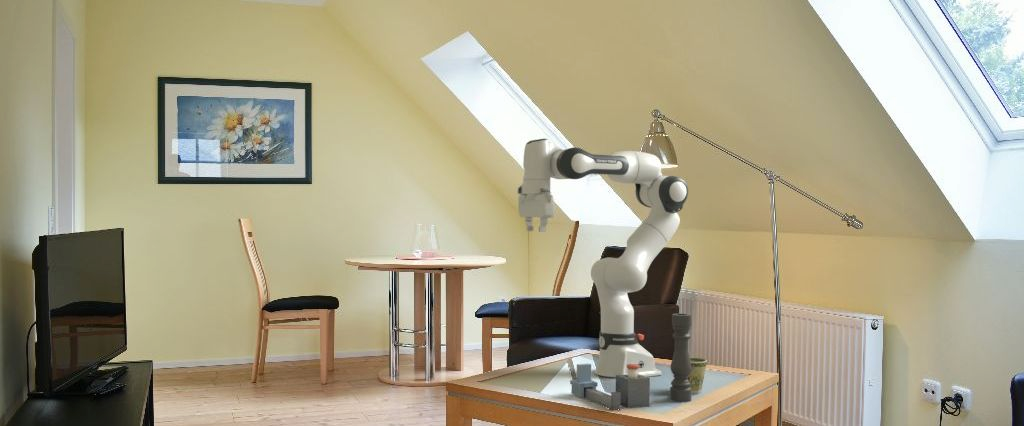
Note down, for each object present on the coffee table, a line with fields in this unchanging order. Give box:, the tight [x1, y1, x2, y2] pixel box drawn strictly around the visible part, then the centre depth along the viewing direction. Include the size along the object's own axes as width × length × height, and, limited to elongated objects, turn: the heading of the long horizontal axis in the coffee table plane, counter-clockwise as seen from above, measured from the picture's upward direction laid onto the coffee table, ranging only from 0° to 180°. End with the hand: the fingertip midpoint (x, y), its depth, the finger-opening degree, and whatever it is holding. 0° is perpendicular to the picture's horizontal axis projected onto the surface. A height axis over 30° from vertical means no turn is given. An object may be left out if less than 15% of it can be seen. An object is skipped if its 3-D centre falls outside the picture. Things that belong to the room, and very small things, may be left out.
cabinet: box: [615, 374, 651, 409], centre depth 253 cm, size 7×7×8 cm
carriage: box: [569, 363, 598, 398], centre depth 263 cm, size 6×6×9 cm
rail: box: [572, 376, 621, 411], centre depth 256 cm, size 2×24×5 cm, turn 23°
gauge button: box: [627, 364, 639, 378], centre depth 253 cm, size 3×3×6 cm
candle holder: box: [669, 312, 693, 403], centre depth 260 cm, size 6×6×25 cm
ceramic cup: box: [688, 356, 708, 395], centre depth 273 cm, size 13×10×10 cm
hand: (535, 231), depth 287 cm, fingers open, 8 cm apart
